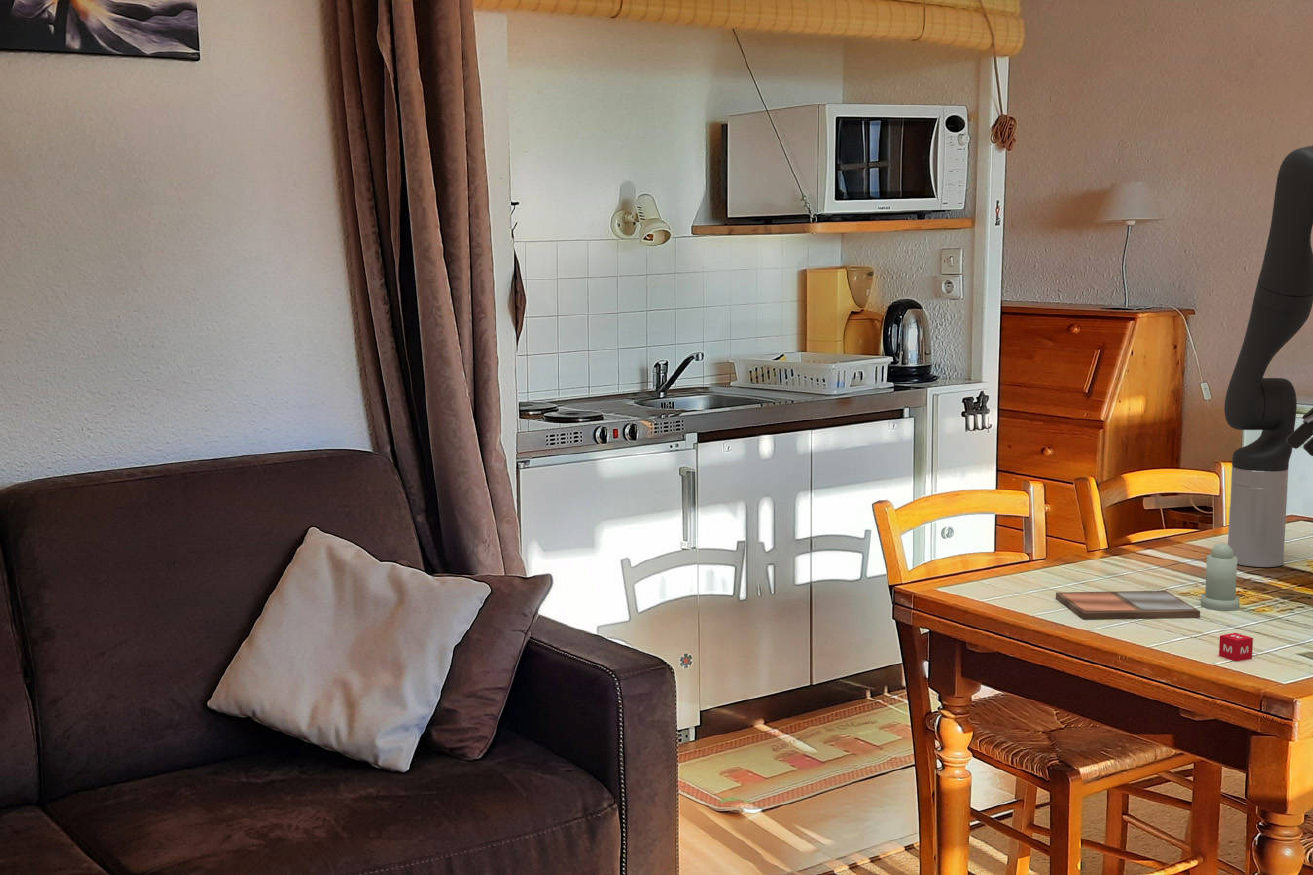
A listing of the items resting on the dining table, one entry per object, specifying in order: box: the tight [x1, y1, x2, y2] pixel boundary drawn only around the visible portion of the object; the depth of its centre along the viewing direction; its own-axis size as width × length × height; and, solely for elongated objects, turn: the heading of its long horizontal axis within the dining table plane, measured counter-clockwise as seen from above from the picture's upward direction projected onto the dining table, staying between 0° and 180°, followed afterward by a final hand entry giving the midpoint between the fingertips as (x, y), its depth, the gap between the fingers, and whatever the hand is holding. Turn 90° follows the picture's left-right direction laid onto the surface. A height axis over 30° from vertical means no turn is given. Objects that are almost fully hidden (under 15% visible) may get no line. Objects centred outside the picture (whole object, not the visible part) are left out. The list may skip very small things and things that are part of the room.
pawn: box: [1200, 542, 1240, 612], centre depth 213 cm, size 6×6×10 cm
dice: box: [1218, 632, 1254, 662], centre depth 187 cm, size 3×3×3 cm
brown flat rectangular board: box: [1055, 590, 1201, 621], centre depth 213 cm, size 13×18×1 cm
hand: (1298, 448), depth 209 cm, fingers open, 8 cm apart
